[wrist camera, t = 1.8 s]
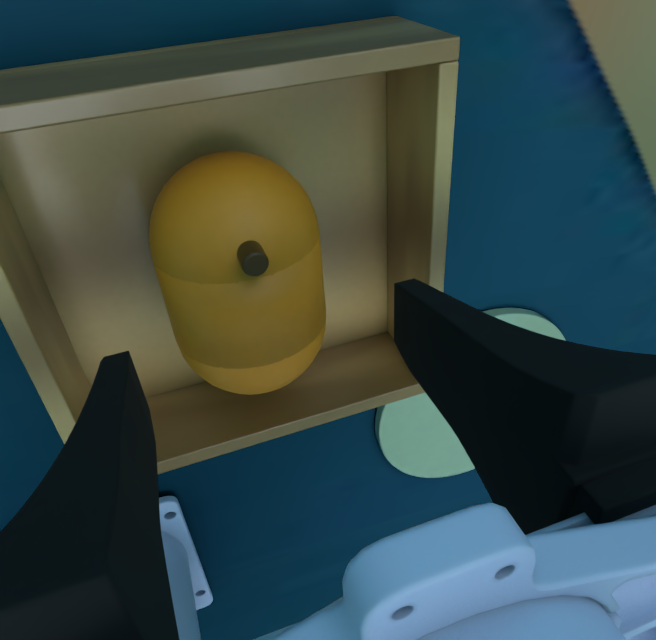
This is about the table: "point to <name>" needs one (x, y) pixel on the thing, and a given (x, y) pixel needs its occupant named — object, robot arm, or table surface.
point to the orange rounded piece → (240, 270)
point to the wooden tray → (196, 141)
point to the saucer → (437, 419)
